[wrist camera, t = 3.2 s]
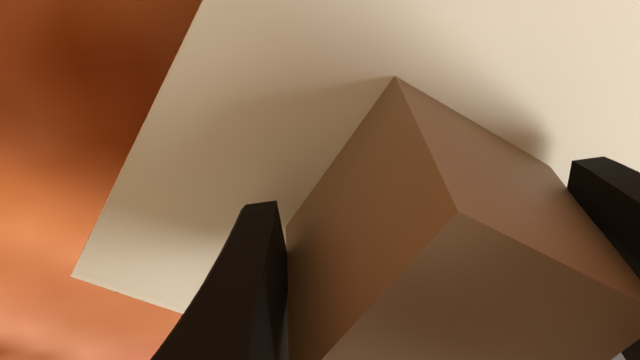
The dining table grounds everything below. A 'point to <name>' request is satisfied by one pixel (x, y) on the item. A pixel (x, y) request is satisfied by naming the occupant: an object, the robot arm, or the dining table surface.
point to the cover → (392, 173)
